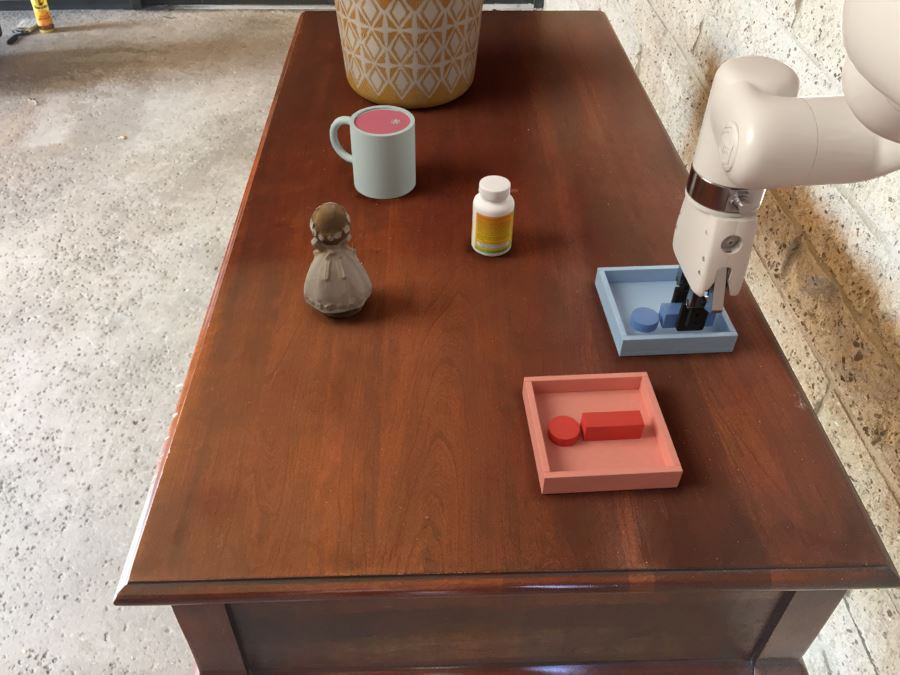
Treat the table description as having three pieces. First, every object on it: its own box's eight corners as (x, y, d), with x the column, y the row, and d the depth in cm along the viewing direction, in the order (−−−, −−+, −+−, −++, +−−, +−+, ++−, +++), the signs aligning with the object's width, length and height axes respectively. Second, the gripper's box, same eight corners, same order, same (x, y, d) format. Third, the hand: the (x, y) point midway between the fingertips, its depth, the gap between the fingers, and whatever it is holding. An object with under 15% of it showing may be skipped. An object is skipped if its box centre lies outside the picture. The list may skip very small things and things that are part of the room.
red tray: (677, 487, 76) (683, 471, 74) (541, 494, 75) (544, 478, 73) (642, 388, 86) (646, 371, 84) (522, 393, 85) (524, 376, 83)
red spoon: (642, 443, 79) (646, 429, 78) (550, 447, 79) (552, 433, 77) (634, 419, 82) (638, 405, 80) (545, 423, 81) (547, 409, 80)
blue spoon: (714, 330, 90) (719, 315, 88) (633, 333, 89) (636, 319, 88) (705, 311, 92) (710, 297, 91) (626, 315, 92) (630, 300, 90)
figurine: (365, 286, 98) (357, 182, 88) (377, 320, 93) (371, 215, 83) (301, 297, 96) (286, 193, 86) (311, 333, 92) (296, 227, 81)
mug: (426, 175, 118) (426, 114, 111) (396, 205, 112) (393, 142, 105) (350, 153, 122) (345, 93, 116) (316, 181, 116) (309, 119, 109)
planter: (322, 111, 132) (309, -23, 118) (355, 50, 151) (347, -73, 137) (474, 123, 130) (480, -13, 116) (488, 59, 149) (495, -64, 134)
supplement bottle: (517, 252, 104) (523, 189, 97) (480, 261, 102) (484, 198, 96) (501, 230, 107) (505, 168, 101) (465, 238, 106) (467, 176, 99)
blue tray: (732, 351, 90) (738, 335, 89) (619, 356, 89) (622, 339, 88) (697, 280, 100) (701, 263, 98) (594, 283, 99) (597, 267, 98)
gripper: (793, 229, 73) (740, 368, 85) (735, 144, 84) (695, 278, 97) (715, 231, 72) (673, 371, 85) (667, 146, 84) (636, 280, 96)
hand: (685, 320), depth 91 cm, fingers closed on blue spoon, 2 cm apart
